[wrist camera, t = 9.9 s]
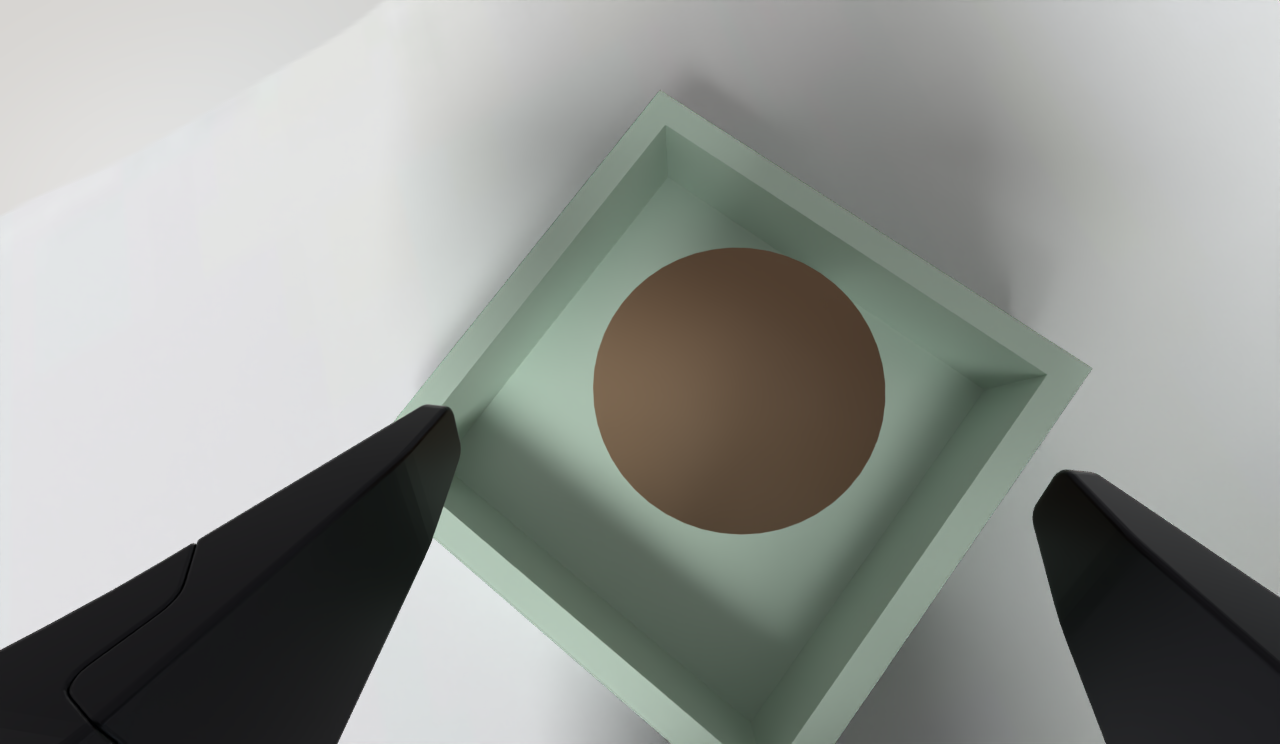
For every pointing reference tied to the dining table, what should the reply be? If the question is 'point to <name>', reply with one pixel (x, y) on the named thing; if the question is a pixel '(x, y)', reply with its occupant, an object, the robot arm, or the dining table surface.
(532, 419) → the box
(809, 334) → the walnut handle
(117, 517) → the dining table surface
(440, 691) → the dining table surface
